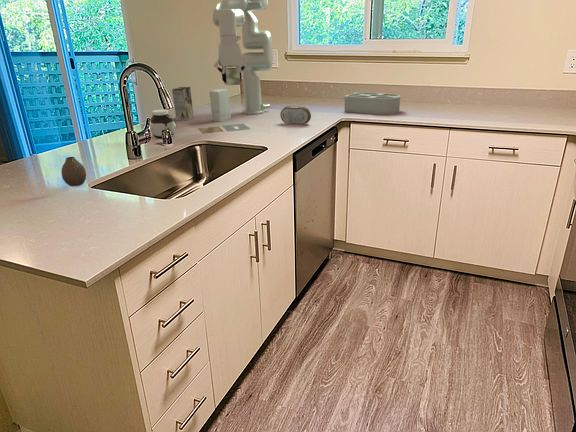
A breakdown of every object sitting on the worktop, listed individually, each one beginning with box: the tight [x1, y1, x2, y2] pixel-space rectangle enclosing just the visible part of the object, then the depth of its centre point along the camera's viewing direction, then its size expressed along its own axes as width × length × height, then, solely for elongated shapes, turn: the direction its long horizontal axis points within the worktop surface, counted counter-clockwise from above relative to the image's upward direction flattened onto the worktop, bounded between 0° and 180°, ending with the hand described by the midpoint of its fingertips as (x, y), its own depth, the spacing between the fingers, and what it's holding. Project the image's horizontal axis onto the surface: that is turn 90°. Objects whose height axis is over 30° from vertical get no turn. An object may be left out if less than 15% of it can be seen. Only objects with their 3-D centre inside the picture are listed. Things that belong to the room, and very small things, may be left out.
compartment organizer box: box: [343, 91, 402, 116], centre depth 237 cm, size 17×28×9 cm, turn 57°
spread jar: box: [149, 109, 177, 140], centre depth 196 cm, size 12×11×12 cm
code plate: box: [221, 123, 251, 132], centre depth 208 cm, size 11×14×1 cm
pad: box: [197, 126, 225, 134], centre depth 204 cm, size 10×12×1 cm
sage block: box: [224, 66, 241, 86], centre depth 199 cm, size 6×6×7 cm
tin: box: [280, 105, 312, 126], centre depth 212 cm, size 15×3×8 cm, turn 71°
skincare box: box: [209, 88, 232, 122], centre depth 223 cm, size 8×7×16 cm
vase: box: [61, 156, 87, 187], centre depth 137 cm, size 7×7×9 cm
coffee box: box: [172, 86, 195, 122], centre depth 230 cm, size 9×6×16 cm
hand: (232, 81), depth 200 cm, fingers closed on sage block, 6 cm apart
